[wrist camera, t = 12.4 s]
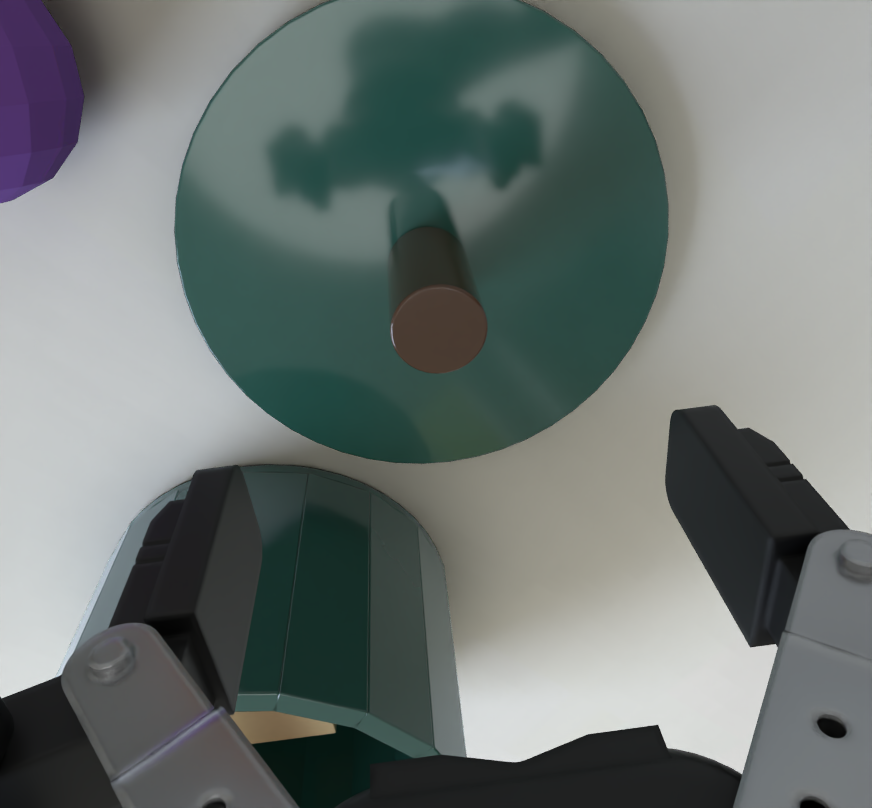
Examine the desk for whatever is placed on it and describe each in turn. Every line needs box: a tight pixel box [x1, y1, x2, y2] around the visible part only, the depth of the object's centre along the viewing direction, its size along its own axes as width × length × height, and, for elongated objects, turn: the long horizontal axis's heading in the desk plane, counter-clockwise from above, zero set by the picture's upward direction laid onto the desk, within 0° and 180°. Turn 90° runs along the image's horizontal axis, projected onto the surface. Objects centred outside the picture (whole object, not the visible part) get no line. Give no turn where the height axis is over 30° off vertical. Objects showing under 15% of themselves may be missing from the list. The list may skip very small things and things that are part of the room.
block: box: [230, 711, 336, 744], centre depth 29 cm, size 4×4×5 cm
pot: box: [55, 465, 467, 808], centre depth 27 cm, size 15×15×10 cm
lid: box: [174, 0, 668, 464], centre depth 21 cm, size 16×16×6 cm
